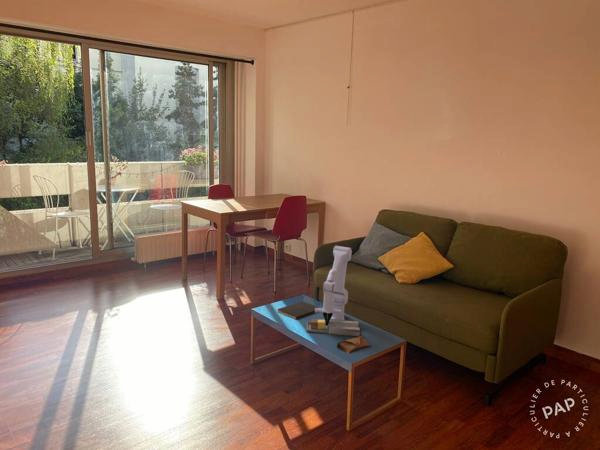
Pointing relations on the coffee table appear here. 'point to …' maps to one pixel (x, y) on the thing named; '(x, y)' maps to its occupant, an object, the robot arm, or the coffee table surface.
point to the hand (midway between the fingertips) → (326, 325)
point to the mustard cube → (321, 324)
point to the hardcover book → (298, 310)
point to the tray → (316, 329)
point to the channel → (343, 327)
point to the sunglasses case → (352, 344)
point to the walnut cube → (314, 323)
